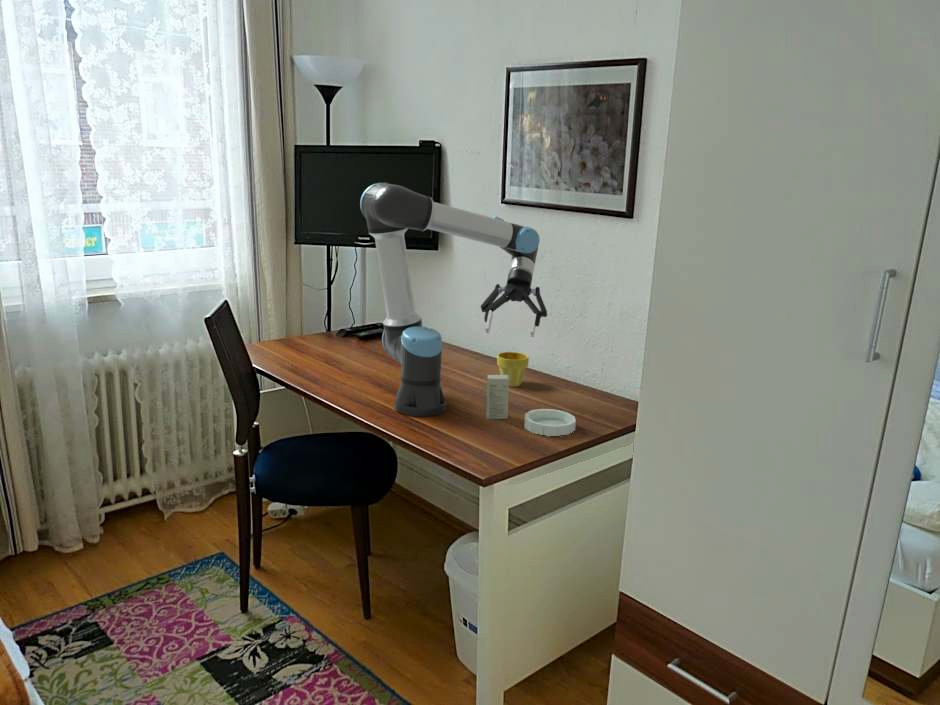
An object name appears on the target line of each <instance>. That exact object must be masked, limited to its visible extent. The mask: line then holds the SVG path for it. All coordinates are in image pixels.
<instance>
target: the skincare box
mask: <svg viewBox="0 0 940 705" xmlns="http://www.w3.org/2000/svg"><path fill="white" fill-rule="evenodd" d="M509 387H510V386H509V377H508V375H500V374H486V400H485V401H486V403H485V406H486V407H485V416H486V419H488V420H491V419H492V420H493V419H494V420H498V419H499V420H506V419H507V420H508V418H509V391H510V390H509Z"/></svg>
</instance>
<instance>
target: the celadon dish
mask: <svg viewBox="0 0 940 705" xmlns="http://www.w3.org/2000/svg"><path fill="white" fill-rule="evenodd" d="M576 425H577V421H576V417H575V415H573V414H571V413H570V412H567V411H563V410H559V409H551V408H540V409H539V408H538V409H531V410H529V411H528V412H525V413H524V424H523V426H524V427H523V428H524V429H525V430H526V431H528V432H529V431H530V432H529V433H531V432H532V433H531V434H534V433H535V434H534V435H537V434H540V435H539V436H541V435H546V436H545V437H550V436H560V435H566V434H570V433H572V432H573V431H575V432H576ZM573 433H574V432H573ZM573 433H572V434H573ZM570 435H571V434H570ZM560 437H561V436H560Z"/></svg>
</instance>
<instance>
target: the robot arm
mask: <svg viewBox="0 0 940 705" xmlns="http://www.w3.org/2000/svg"><path fill="white" fill-rule="evenodd" d="M359 205H360V206H359V207H360V211H361V213H362V215H363V217H364V218H365V219H366V225H367V231H368V234H369V235H370V236H371V237H373V238H374V241H375V248H376V255H377V261H378V266H379V273H380V280H381V285H382V292H383V298H384V304H385V310H386V317H385V319H384V320H383V321H382V325H383V329H384V330H383V332H382V336H381V342H382V347H383V349H384V350H385V352H386V353H387V355H388V356H389V357H391V359H394V360H395V361H397V363H399V364H400V366H401V367H400V370H401V371H400V375H401V376H400V384H399V387H398V390H397V393H396V397H395V399H394V410H395V411H396V412H397V413H399V412H400V413H399V414H402V413H403V415H405V414H406V415H405V416H412V417H433V416H437V415H439V414H442V413H444V412H446V409H447V401H446V396H445V393H444V390H443V387H442V360H443V359H442V358H443V356H442V355H443V337H442V335H441V333H440V332H439V331H437V330H435V329H434V328H431V327H430V328H429V327H427V326H423V323H422V321H423V320H422V317H421V315H420V314H418V313H417V312H416V309H415V302H414V295H413V289H412V281H411V273H410V267H409V260H408V253H407V252H408V251H407V247H406V240H405V239H406V238H405V233H406V232H407V231H408V229H409V230H415V231H420V232H424V231H426V230H430V231H435V232H439V233H443V234H447V235H450V236H451V235H452V236H455V237H459V238H463V239H468V240H470V241H474V242H479V243H485V244H488V245H492V246H496V247H499V248H500V249H502V250H503V251H504V252H506V253H507V254H509V255H510V256H511V261H510V265H509V270H508V276H507V281H506V284H505V286H501V285H500V284H499V283H497V284H495V287H494V289H493V291H492V292H491V293H490V294H489V296H488V297H487V298H486V299H485V300H484V301H483V302H482V303H481V305H480V310H481V312H482V313H484V318H483V319H484V323H486V324H485V332H486V334H490V331H491V327H492V326H491V325H492V321H493V317H494V315H493V312H495V311H496V310H498V309H499V308H501V306H503V305H504V304H505V303H508V302H510V301H511V302H518V303H521V302H524V303H525V305H527V306H528V307H529V309H530V310H531V311H532V314H533V316H532V322H531V327H530V337H532V338H534V337H535V333H536V332H535V331H536V327H540V324H541V318H542V317H543V318H547V316H548V310H547V308H546V306H545V303H544V301H543V299H542V296H541V290H540V287H539V286H536V287H535V288H532V282H533V276H534V271H535V267H536V266H535V265H536V260H537V254H538V251H539V244H540V235H539V233H538V232H537V230H536V229H534V228H532V227H530V226H524V225H520V224H516V223H512V222H510V221H505V220H504V219H503V218H501V217H499V216H498V215H497V216H495V215H494V216H492V217H490V216H488V215H482V214H480V213H476V212H472V211H467V210H465V209H461V208H458V207H454V206H450V205H447V204H443V203H439V202H435V201H434V200H433V198H432V197H431V196H427V195H424V194H421V193H418V192H415V191H413V190H411V189H409V188H407V187H405V186H402V185H398V184H391V183H388V182H378V183H373V184H371V185H370V186H368V187H367V188H366V189H365V190H364V191H363V193H362V195H361V197H360V202H359ZM503 292H504V293H503ZM531 294H532V295H533V296H534V297H535V299H536V301H537V304H538V307H539V308H540V309H539V308H538V307H537V305H536V304H535V303H534V301H533V300H532V299H531V298H530V295H531ZM499 295H501V296H500V297H499Z"/></svg>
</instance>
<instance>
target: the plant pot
mask: <svg viewBox="0 0 940 705" xmlns="http://www.w3.org/2000/svg"><path fill="white" fill-rule="evenodd" d="M529 360H530V358H529V355H528V354H526V353H523V352H519V351H503V352H499V353H498V354H497V357H496V365H497V366H498V369H499V375H508V377H509V387H513V388H514V387H519V386H521V385H522V382H523V379H524V377H525V376H524V375H525V372H526V368H528V367H529Z"/></svg>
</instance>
